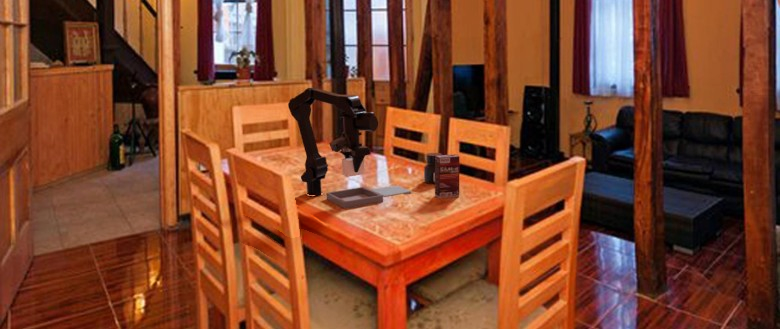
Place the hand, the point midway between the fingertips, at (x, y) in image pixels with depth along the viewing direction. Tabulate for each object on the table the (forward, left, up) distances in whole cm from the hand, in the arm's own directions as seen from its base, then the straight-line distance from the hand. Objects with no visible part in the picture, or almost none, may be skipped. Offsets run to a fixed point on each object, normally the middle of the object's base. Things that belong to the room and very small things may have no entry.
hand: (353, 171), depth 207 cm
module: (0, 0, -1) cm, 1 cm away
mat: (-4, +18, -12) cm, 22 cm away
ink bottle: (-8, +42, -12) cm, 44 cm away
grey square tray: (0, 0, -12) cm, 12 cm away
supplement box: (+14, +33, -12) cm, 38 cm away
